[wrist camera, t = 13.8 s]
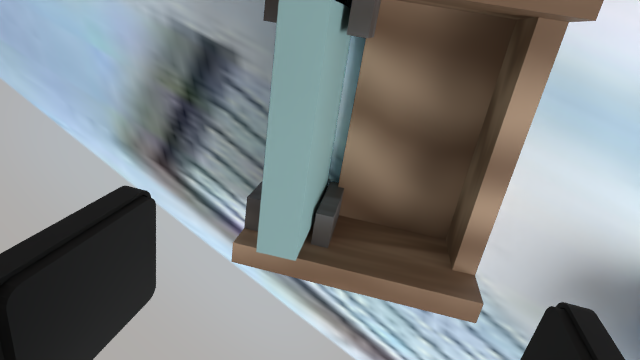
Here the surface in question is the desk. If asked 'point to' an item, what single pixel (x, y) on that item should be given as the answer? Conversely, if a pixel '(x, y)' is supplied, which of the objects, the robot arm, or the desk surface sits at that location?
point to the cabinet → (426, 147)
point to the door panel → (301, 120)
